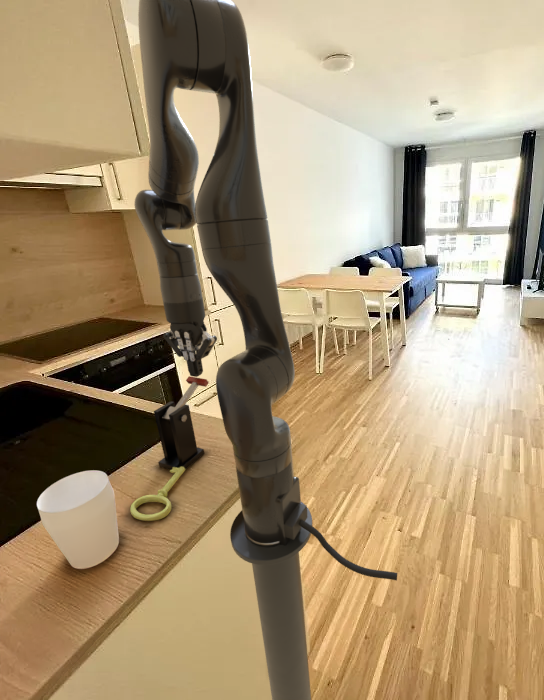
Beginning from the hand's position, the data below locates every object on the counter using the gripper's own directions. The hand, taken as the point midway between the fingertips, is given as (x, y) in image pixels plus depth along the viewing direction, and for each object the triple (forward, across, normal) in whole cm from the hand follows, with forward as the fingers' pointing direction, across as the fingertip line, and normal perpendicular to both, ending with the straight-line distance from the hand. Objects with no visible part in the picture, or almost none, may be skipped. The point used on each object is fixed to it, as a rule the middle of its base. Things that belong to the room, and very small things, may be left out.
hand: (196, 375), depth 79 cm
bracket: (+17, 0, +8) cm, 19 cm away
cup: (+17, -4, +30) cm, 35 cm away
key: (+17, -5, +18) cm, 25 cm away
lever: (+5, 0, +4) cm, 6 cm away
